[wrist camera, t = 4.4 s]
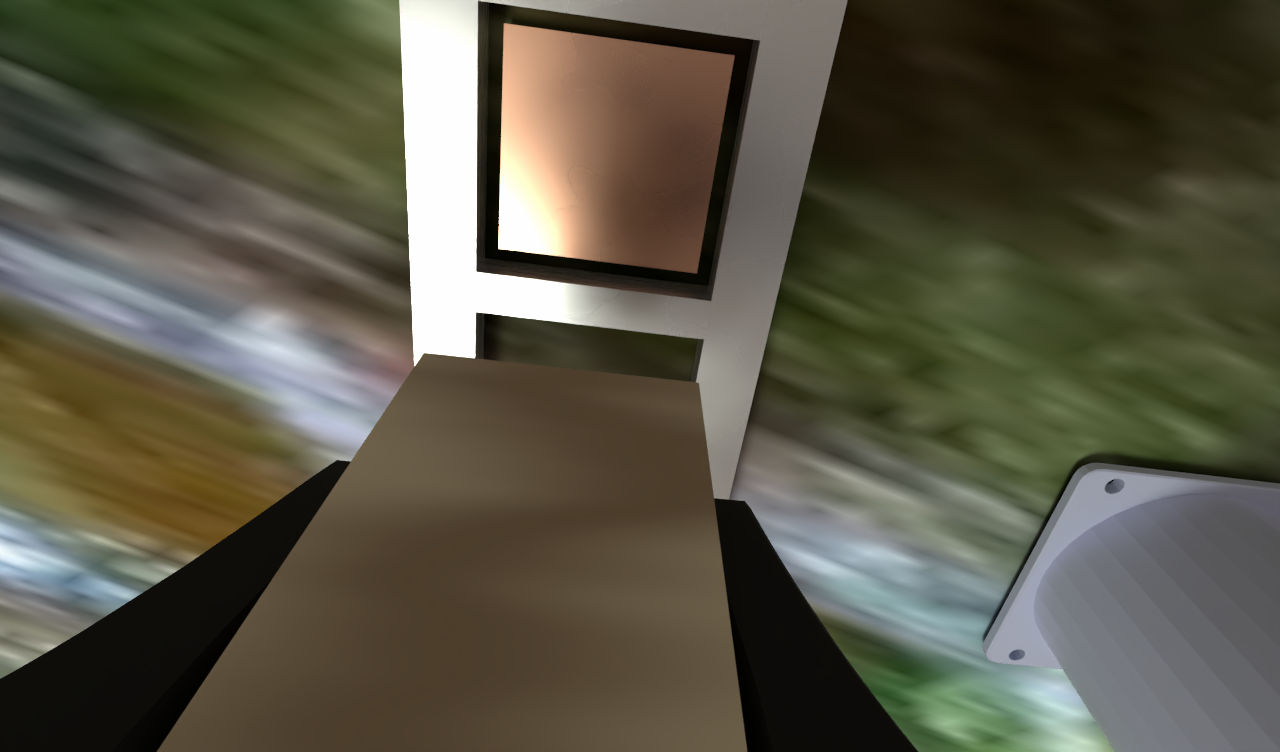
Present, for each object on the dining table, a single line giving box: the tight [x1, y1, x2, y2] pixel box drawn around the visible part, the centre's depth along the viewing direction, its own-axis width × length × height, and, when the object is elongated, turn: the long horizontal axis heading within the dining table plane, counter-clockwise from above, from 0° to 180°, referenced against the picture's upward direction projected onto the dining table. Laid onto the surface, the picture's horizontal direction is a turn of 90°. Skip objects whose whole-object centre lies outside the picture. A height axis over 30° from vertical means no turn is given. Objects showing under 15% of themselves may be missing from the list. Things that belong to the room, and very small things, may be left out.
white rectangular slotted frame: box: [400, 0, 848, 500], centre depth 18 cm, size 8×20×1 cm, turn 173°
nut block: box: [157, 353, 747, 752], centre depth 8 cm, size 4×4×6 cm
